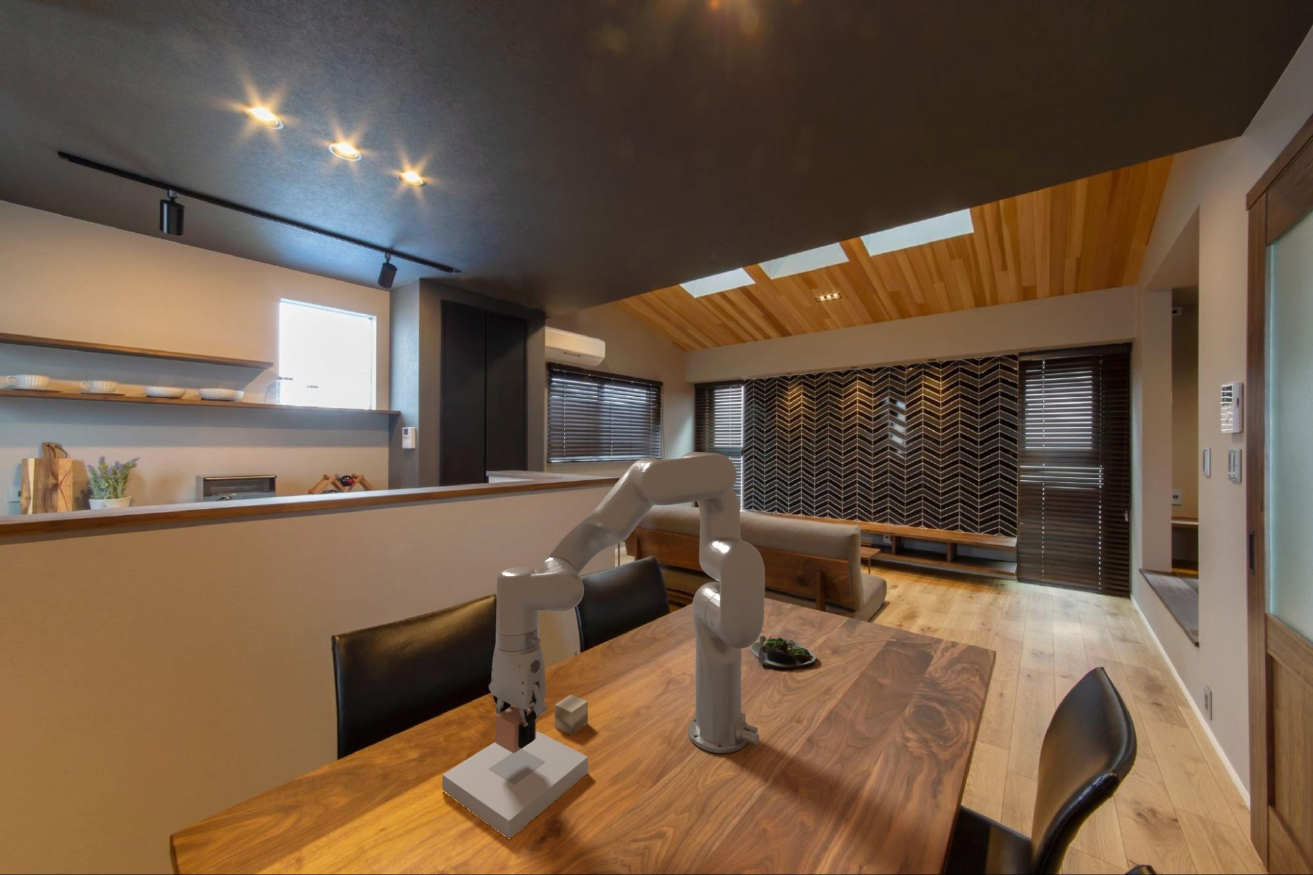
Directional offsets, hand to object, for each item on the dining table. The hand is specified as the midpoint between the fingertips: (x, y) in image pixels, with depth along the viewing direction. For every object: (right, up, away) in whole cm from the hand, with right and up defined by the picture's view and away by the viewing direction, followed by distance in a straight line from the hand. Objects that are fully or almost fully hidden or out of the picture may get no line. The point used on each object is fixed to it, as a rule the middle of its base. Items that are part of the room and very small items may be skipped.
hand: (516, 737), depth 86 cm
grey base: (0, -8, 0) cm, 8 cm away
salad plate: (+62, -9, +50) cm, 80 cm away
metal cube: (+7, -8, +17) cm, 20 cm away
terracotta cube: (0, -1, 0) cm, 1 cm away
